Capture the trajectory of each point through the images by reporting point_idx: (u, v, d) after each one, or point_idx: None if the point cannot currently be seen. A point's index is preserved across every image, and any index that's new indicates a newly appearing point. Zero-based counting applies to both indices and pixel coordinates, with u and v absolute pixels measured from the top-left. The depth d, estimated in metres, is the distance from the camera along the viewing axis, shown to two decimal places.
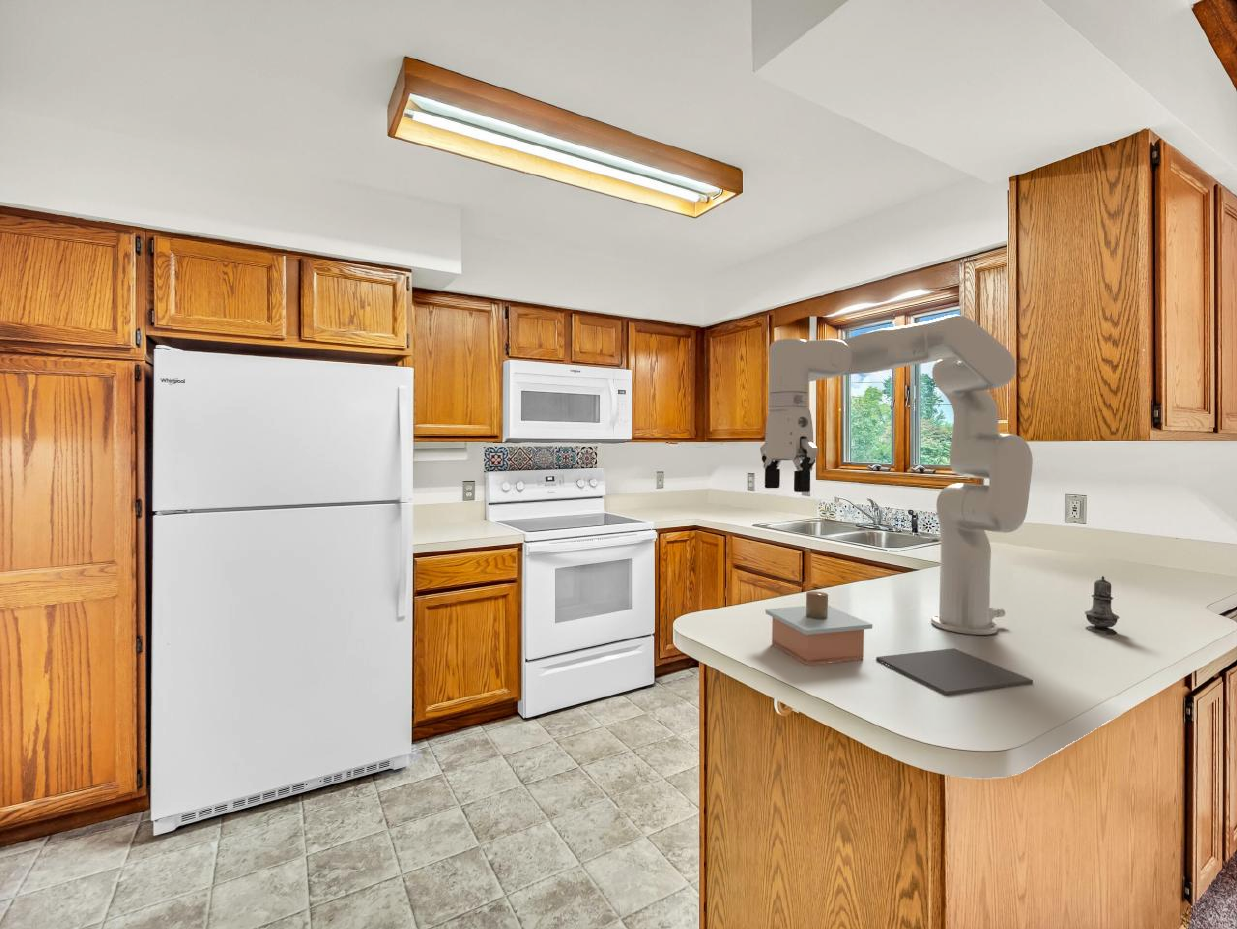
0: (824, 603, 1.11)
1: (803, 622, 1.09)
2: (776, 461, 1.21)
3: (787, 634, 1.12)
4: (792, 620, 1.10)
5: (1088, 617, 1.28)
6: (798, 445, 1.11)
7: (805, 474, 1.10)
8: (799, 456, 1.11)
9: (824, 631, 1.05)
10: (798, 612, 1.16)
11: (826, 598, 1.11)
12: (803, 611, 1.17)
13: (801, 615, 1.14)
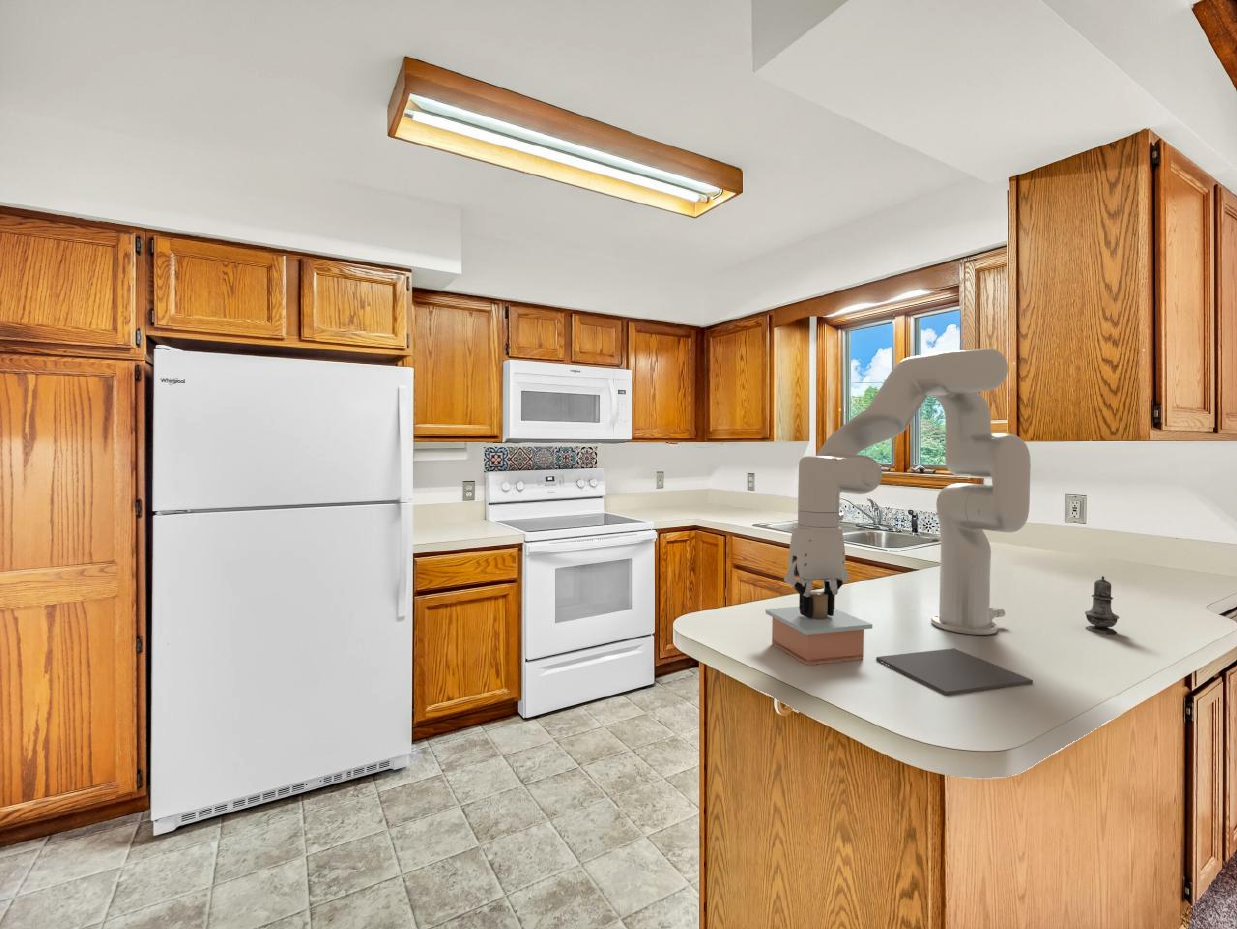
0: (824, 603, 1.11)
1: (803, 622, 1.09)
2: (801, 585, 1.13)
3: (787, 634, 1.12)
4: (792, 620, 1.10)
5: (1088, 617, 1.28)
6: None
7: None
8: None
9: (824, 631, 1.05)
10: (798, 612, 1.16)
11: (826, 598, 1.11)
12: None
13: (801, 615, 1.14)
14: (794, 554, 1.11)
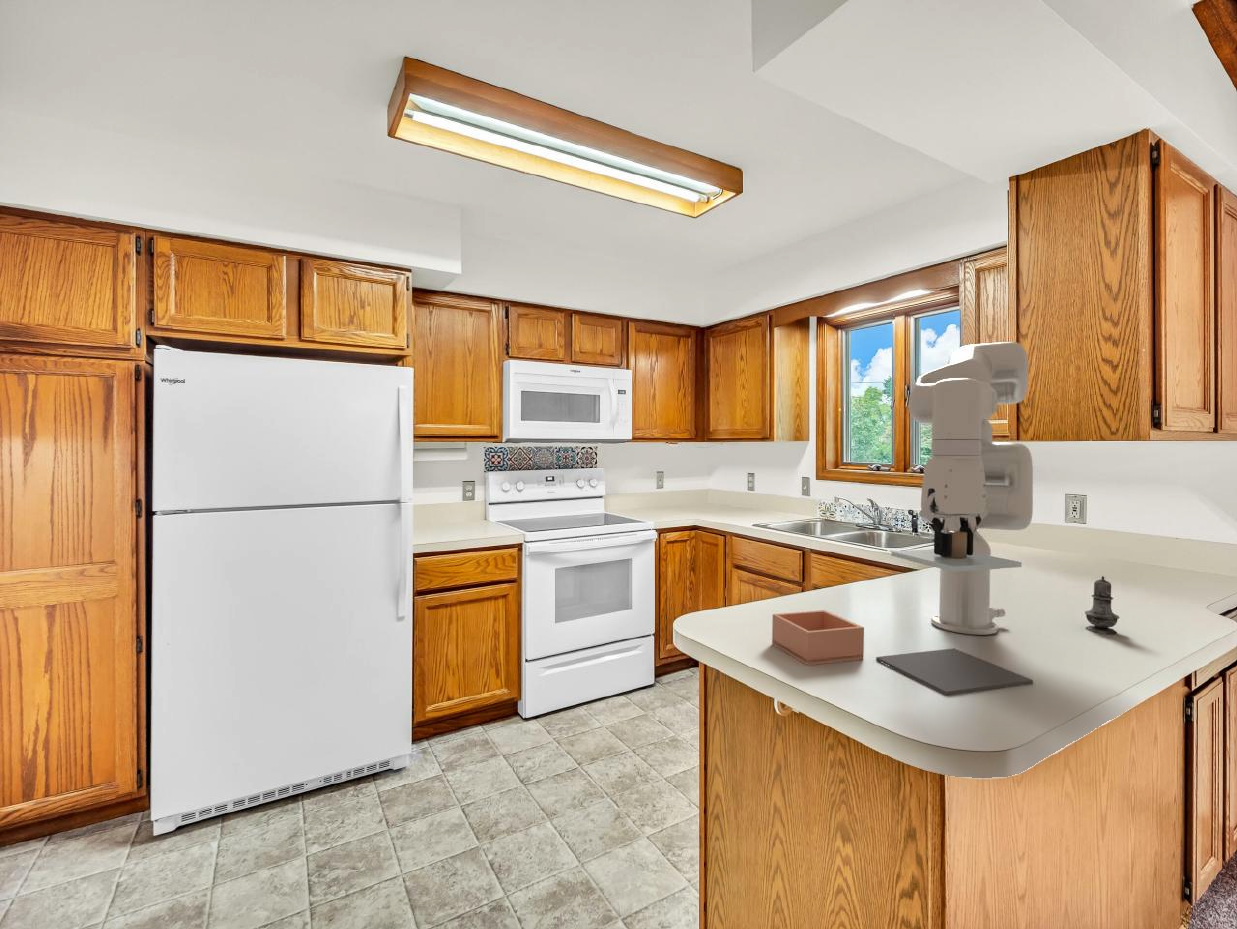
0: (965, 541, 1.01)
1: (944, 560, 0.99)
2: None
3: (787, 634, 1.12)
4: (930, 559, 1.00)
5: (1088, 617, 1.28)
6: None
7: None
8: None
9: (972, 568, 0.95)
10: (930, 553, 1.05)
11: (966, 535, 1.01)
12: (934, 553, 1.06)
13: (935, 555, 1.04)
14: (930, 486, 1.01)
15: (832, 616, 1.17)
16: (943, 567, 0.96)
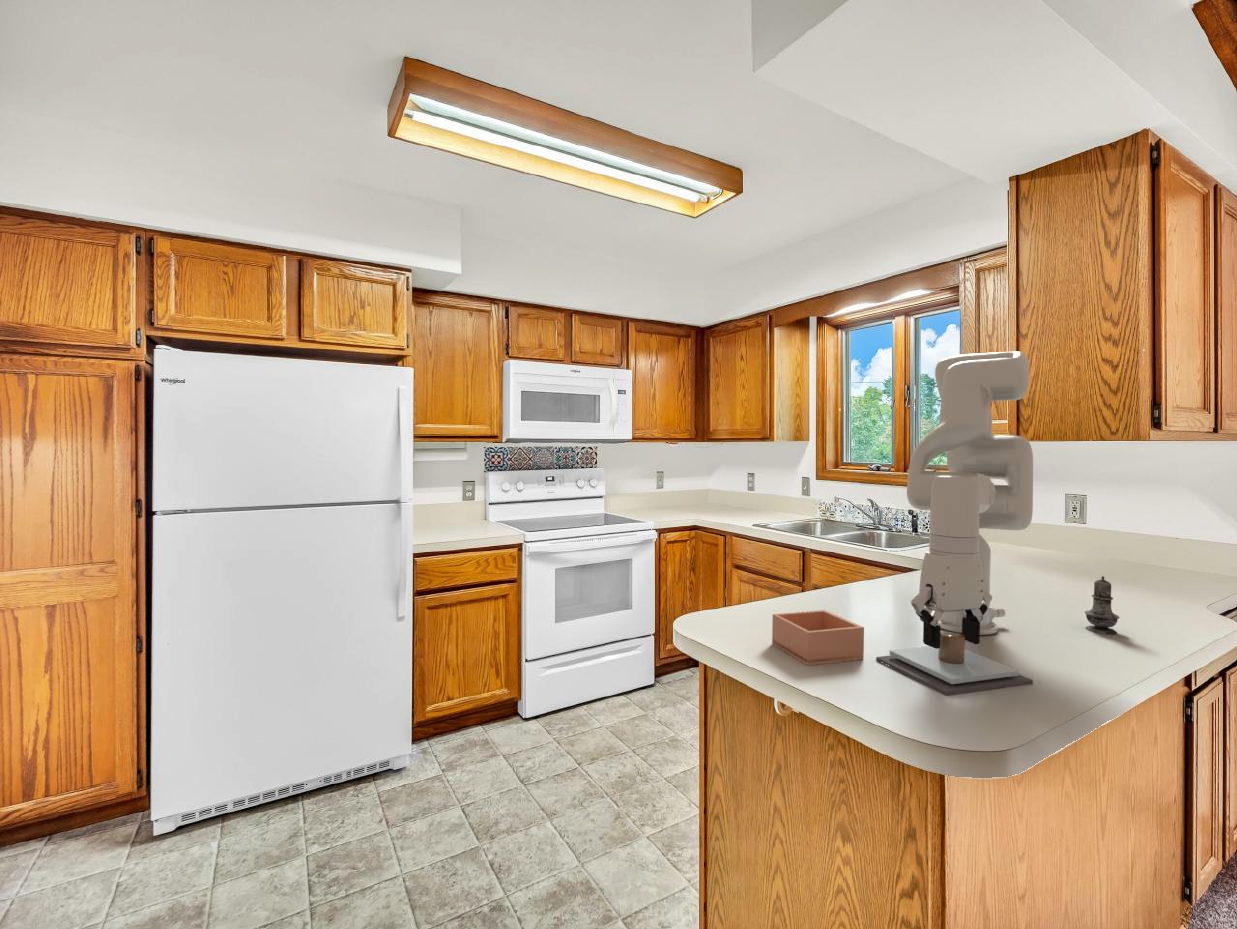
0: (962, 646, 1.02)
1: (941, 668, 1.00)
2: None
3: (787, 634, 1.12)
4: (928, 665, 1.01)
5: (1088, 617, 1.28)
6: None
7: None
8: None
9: (970, 679, 0.96)
10: (927, 654, 1.06)
11: (964, 641, 1.02)
12: (932, 653, 1.07)
13: (933, 658, 1.04)
14: (928, 582, 1.02)
15: (832, 616, 1.17)
16: (941, 677, 0.97)
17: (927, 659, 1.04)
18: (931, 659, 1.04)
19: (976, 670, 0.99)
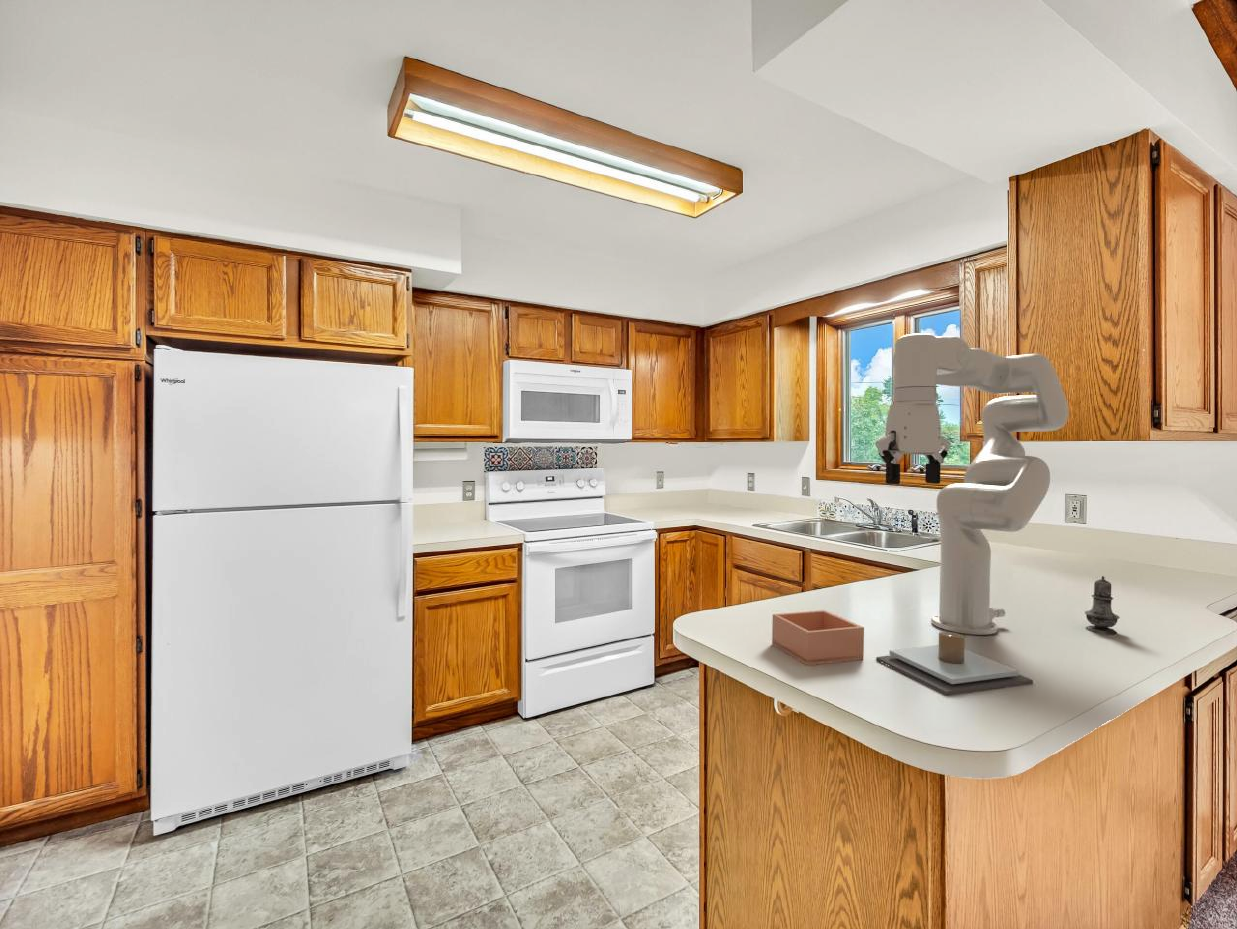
0: (962, 646, 1.02)
1: (941, 668, 1.00)
2: None
3: (787, 634, 1.12)
4: (928, 665, 1.01)
5: (1088, 617, 1.28)
6: None
7: None
8: None
9: (970, 679, 0.96)
10: (927, 654, 1.06)
11: (964, 641, 1.02)
12: (932, 653, 1.07)
13: (933, 658, 1.04)
14: (892, 429, 1.16)
15: (832, 616, 1.17)
16: (941, 677, 0.97)
17: (927, 659, 1.04)
18: (931, 659, 1.04)
19: (976, 670, 0.99)
